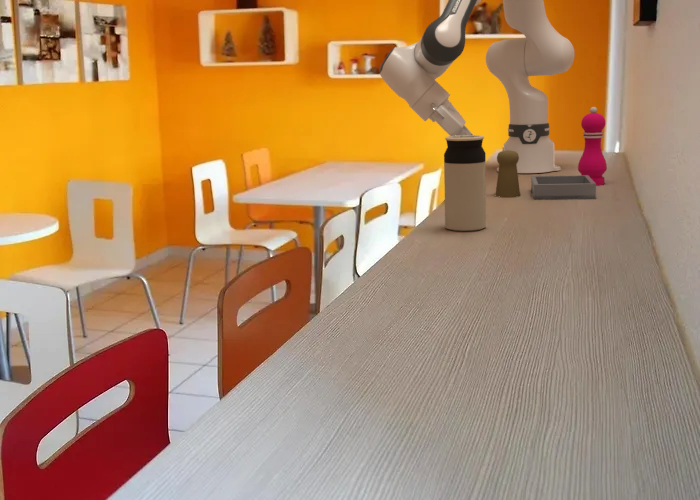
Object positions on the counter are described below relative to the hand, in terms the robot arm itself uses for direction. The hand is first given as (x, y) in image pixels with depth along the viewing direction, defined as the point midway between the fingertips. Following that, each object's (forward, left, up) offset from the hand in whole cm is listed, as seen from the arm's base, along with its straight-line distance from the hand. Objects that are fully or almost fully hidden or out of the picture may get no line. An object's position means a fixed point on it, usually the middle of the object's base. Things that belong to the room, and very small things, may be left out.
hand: (473, 142), depth 198 cm
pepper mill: (-18, +30, -13) cm, 38 cm away
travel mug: (+42, -1, -13) cm, 44 cm away
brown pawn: (0, +8, -13) cm, 16 cm away
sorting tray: (-1, +21, -13) cm, 25 cm away
